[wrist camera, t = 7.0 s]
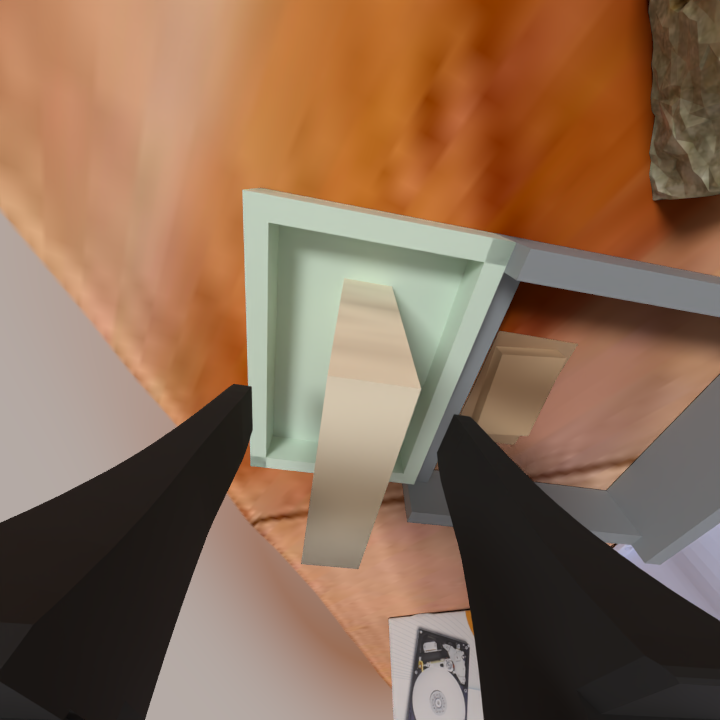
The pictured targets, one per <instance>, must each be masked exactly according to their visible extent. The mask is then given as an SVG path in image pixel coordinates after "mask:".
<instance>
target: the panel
mask: <svg viewBox="0 0 720 720" xmlns="http://www.w3.org/2000/svg"><path fill="white" fill-rule="evenodd" d="M420 391H421V386H420V383H419V379H418V376H417V372H416V369H415V365H414V362H413V358H412V355H411V351H410V348H409V344H408V341H407V337H406V334H405V330H404V327H403V323H402V320H401V316H400V313H399V309H398V306H397V302H396V299H395V295H394V292H393V288H392V286H387V285H381V284H375V283H369V282H363V281H358V280H352V279H346V278H344V282H343V288H342V293H341V299H340V305H339V311H338V317H337V323H336V328H335V334H334V340H333V346H332V352H331V358H330V364H329V369H328V375H327V382H326V390H325V397H324V404H323V411H322V418H321V426H320V433H319V440H318V447H317V454H316V461H315V469H314V476H313V483H312V490H311V497H310V505H309V512H308V519H307V526H306V533H305V541H304V548H303V555H302V562H301V564H307V565H319V566H330V567H341V568H353V569H359V566H360V563H361V560H362V557H363V554H364V551H365V549H366V546H367V543H368V540H369V537H370V534H371V531H372V529H373V526H374V523H375V520H376V517H377V514H378V511H379V509H380V506H381V503H382V500H383V497H384V494H385V491H386V488H387V486H388V483H389V480H390V477H391V474H392V471H393V468H394V466H395V463H396V460H397V457H398V454H399V451H400V448H401V446H402V443H403V440H404V437H405V434H406V431H407V428H408V426H409V423H410V420H411V417H412V414H413V411H414V408H415V405H416V403H417V400H418V397H419V394H420Z"/></svg>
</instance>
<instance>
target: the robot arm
mask: <svg viewBox="0 0 720 720" xmlns="http://www.w3.org/2000/svg"><path fill="white" fill-rule="evenodd" d="M252 431H253V418H252V386H244V385H237V384H233V385H232V386H230V387H229V388H228V389H226V390H225V391H224V392H222V393H221V394H220V395H219V396H217V397H216V398H215V399H214V400H212V401H211V402H210V403H208V404H207V405H206V406H205V407H203V408H202V409H201V410H199V411H198V412H197V413H195V414H194V415H193V416H191V417H190V418H189V419H187V420H186V421H185V422H183V423H182V424H181V425H179V426H178V427H176V428H175V429H173V430H172V431H171V432H169V433H168V434H166V435H165V436H163V437H162V438H161V439H159V440H157V441H156V442H154V443H153V444H151V445H150V446H148V447H147V448H145V449H144V450H142V451H140V452H139V453H137V454H135V455H134V456H132V457H131V458H129V459H127V460H125V461H124V462H122V463H120V464H119V465H117V466H115V467H113V468H111V469H110V470H108V471H106V472H104V473H102V474H100V475H98V476H96V477H95V478H93V479H91V480H89V481H87V482H85V483H83V484H81V485H79V486H77V487H75V488H73V489H71V490H70V491H68V492H66V493H64V494H62V495H60V496H58V497H55V498H54V499H51V500H49V501H47V502H45V503H43V504H41V505H39V506H36V507H34V508H32V509H30V510H28V511H26V512H23V513H21V514H19V515H17V516H14V517H12V518H10V519H8V520H6V521H3V522H1V523H0V720H145V718H146V714H147V711H148V708H149V705H150V701H151V698H152V695H153V692H154V689H155V685H156V682H157V679H158V676H159V673H160V670H161V667H162V664H163V660H164V657H165V654H166V651H167V648H168V645H169V642H170V639H171V636H172V633H173V630H174V627H175V624H176V621H177V618H178V615H179V612H180V609H181V606H182V603H183V601H184V598H185V595H186V592H187V590H188V587H189V584H190V581H191V578H192V575H193V572H194V570H195V567H196V564H197V561H198V559H199V556H200V553H201V551H202V548H203V545H204V543H205V540H206V537H207V535H208V532H209V530H210V528H211V525H212V523H213V521H214V518H215V516H216V514H217V512H218V510H219V508H220V506H221V504H222V502H223V500H224V498H225V495H226V493H227V491H228V489H229V487H230V485H231V483H232V481H233V479H234V477H235V474H236V472H237V470H238V468H239V466H240V464H241V462H242V459H243V457H244V455H245V452H246V449H247V446H248V443H249V440H250V437H251V434H252ZM437 459H438V467H439V473H440V480H441V484H442V488H443V491H444V495H445V499H446V502H447V506H448V510H449V513H450V517H451V520H452V524H453V528H454V531H455V535H456V538H457V542H458V546H459V550H460V554H461V559H462V564H463V570H464V575H465V581H466V587H467V592H468V599H469V605H470V612H471V618H472V624H473V632H474V639H475V647H476V655H477V662H478V670H479V680H480V689H481V699H482V708H483V718H484V720H720V523H719V524H718V525H716V526H715V527H714V528H712V529H711V530H709V531H708V532H706V533H705V534H704V535H702V536H701V537H699V538H698V539H696V540H695V541H694V542H692V543H691V544H689V545H688V546H686V547H685V548H684V549H682V550H681V551H679V552H678V553H676V554H675V555H674V556H672V557H671V558H669V559H668V560H666V561H665V562H664V563H662V564H661V565H657V564H647V563H644V562H643V560H642V559H641V558H640V556H639V555H638V554H637V552H636V551H635V549H634V548H633V547H632V545H626V544H617V545H616V546H615V547H613V548H611V547H610V546H609V545H608V544H606V543H605V542H604V541H602V540H601V539H600V538H598V537H597V536H596V535H594V534H593V533H592V532H591V531H589V530H588V529H587V528H586V527H584V526H583V525H582V524H581V523H579V522H578V521H577V520H576V519H575V518H573V517H572V516H571V515H570V514H569V513H568V512H566V511H565V510H564V509H563V508H562V507H561V506H559V505H558V504H557V503H556V502H555V501H554V500H553V499H551V498H550V497H549V496H548V495H547V494H546V493H545V492H544V491H543V490H542V489H541V488H540V487H539V486H537V485H536V484H535V483H534V482H533V481H532V480H531V479H530V478H529V477H528V476H527V475H526V474H525V473H524V472H523V471H522V470H521V469H520V468H519V467H518V466H517V465H516V464H515V463H514V462H513V461H512V460H511V459H510V458H509V457H508V456H507V455H506V454H505V452H504V451H503V450H502V449H501V448H500V447H499V446H498V445H497V444H496V443H495V442H494V441H493V440H492V439H491V438H490V436H489V435H488V434H487V433H486V432H485V431H484V430H483V429H482V428H481V427H480V426H479V425H478V424H477V423H476V422H475V421H474V420H473V419H472V418H471V417H470V416H464V415H456V414H454V415H453V418H452V420H451V422H450V424H449V426H448V429H447V431H446V433H445V435H444V438H443V440H442V442H441V444H440V447H439V449H438V451H437Z"/></svg>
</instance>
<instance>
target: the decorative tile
mask: <svg viewBox="0 0 720 720" xmlns="http://www.w3.org/2000/svg"><path fill="white" fill-rule="evenodd" d="M649 1H650V2H649V10H648V13H649V17H650V23H651V30H652V36H653V56H652V63H651V66H652V71H653V85H652V92H651V107H652V112H653V114H654V115H655V121H654V127H653V134H652V140H651V146H650V152H649V154H650V158H651V166H650V173H649V175H650V181H651V186H652V193H653V200H654V201H655V200H662V199H669V200H671V199H683V198H696V197H705V196H713V195H718V194H720V0H649Z"/></svg>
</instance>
